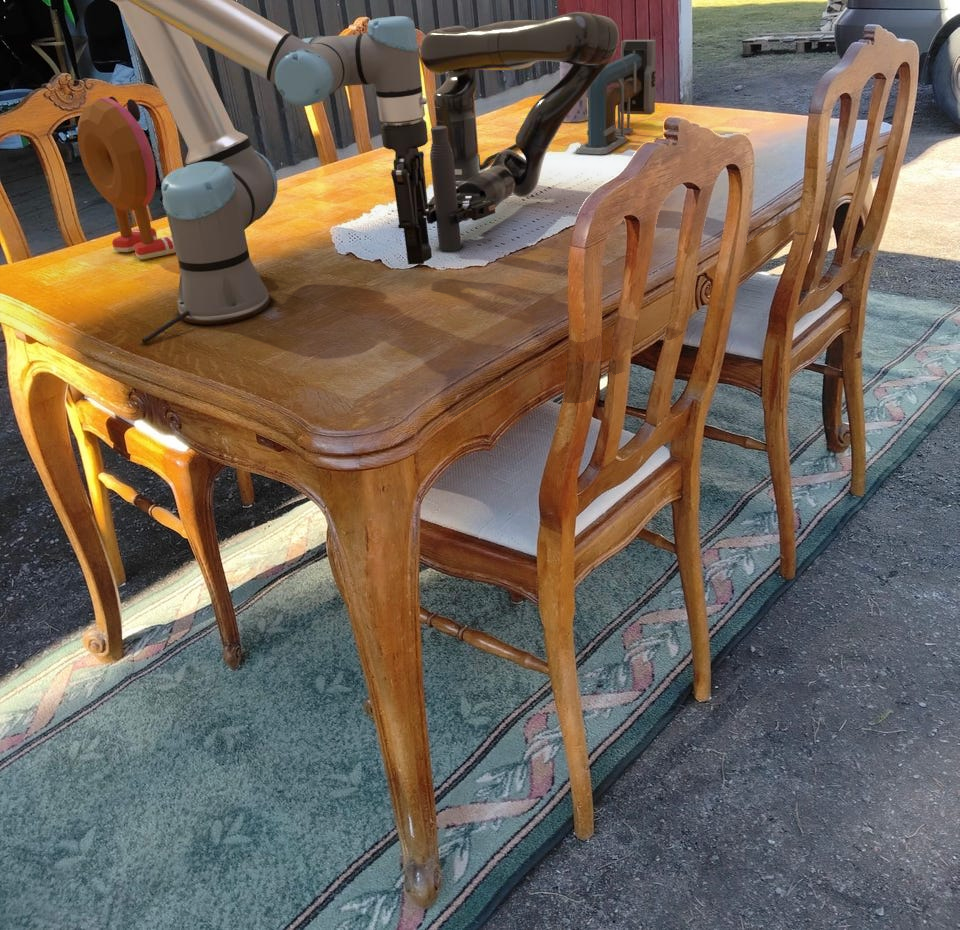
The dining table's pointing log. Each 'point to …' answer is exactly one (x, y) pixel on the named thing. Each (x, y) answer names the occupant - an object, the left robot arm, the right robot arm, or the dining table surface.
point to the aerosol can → (580, 108)
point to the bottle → (444, 189)
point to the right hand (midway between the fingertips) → (440, 219)
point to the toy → (122, 171)
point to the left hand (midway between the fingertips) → (419, 258)
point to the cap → (426, 251)
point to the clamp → (620, 96)
